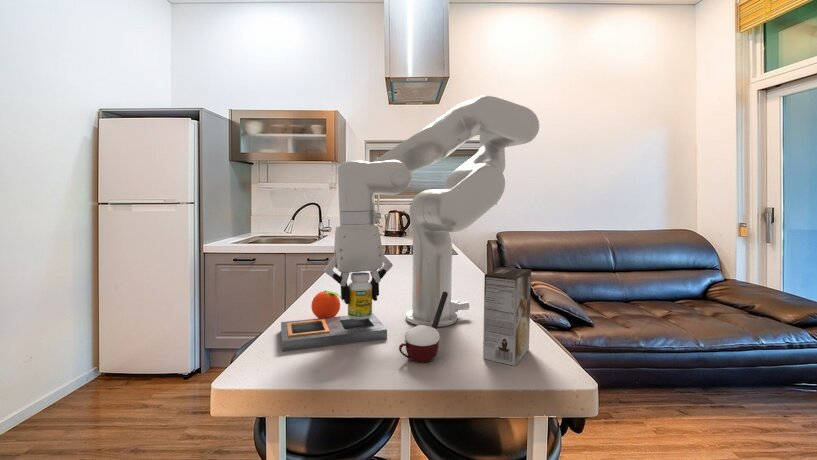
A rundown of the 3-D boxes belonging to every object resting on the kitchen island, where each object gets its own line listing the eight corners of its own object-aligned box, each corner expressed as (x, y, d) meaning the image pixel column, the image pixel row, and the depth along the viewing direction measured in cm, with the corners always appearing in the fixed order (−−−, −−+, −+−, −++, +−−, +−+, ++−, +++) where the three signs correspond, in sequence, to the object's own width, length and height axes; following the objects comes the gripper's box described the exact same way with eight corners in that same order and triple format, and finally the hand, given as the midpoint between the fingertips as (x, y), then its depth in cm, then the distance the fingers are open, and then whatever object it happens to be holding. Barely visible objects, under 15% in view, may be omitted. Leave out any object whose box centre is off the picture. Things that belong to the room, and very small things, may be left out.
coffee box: (498, 343, 78) (500, 266, 77) (529, 350, 75) (532, 269, 74) (481, 359, 70) (483, 273, 69) (516, 367, 67) (519, 277, 66)
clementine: (348, 316, 96) (348, 288, 95) (338, 325, 89) (338, 295, 88) (318, 314, 97) (318, 286, 96) (306, 322, 90) (306, 293, 90)
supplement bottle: (365, 311, 88) (365, 270, 87) (376, 317, 84) (377, 274, 83) (343, 314, 85) (344, 272, 84) (354, 321, 81) (354, 277, 80)
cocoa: (399, 367, 68) (396, 302, 66) (399, 352, 74) (397, 292, 72) (452, 365, 68) (451, 300, 66) (448, 350, 74) (447, 290, 72)
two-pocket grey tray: (373, 321, 92) (373, 311, 91) (387, 338, 80) (387, 328, 80) (281, 330, 84) (280, 320, 84) (282, 351, 73) (282, 339, 73)
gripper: (390, 216, 89) (392, 292, 90) (314, 220, 83) (318, 301, 85) (400, 218, 82) (402, 300, 83) (318, 222, 76) (323, 310, 78)
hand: (360, 300), depth 84 cm, fingers closed on supplement bottle, 5 cm apart
